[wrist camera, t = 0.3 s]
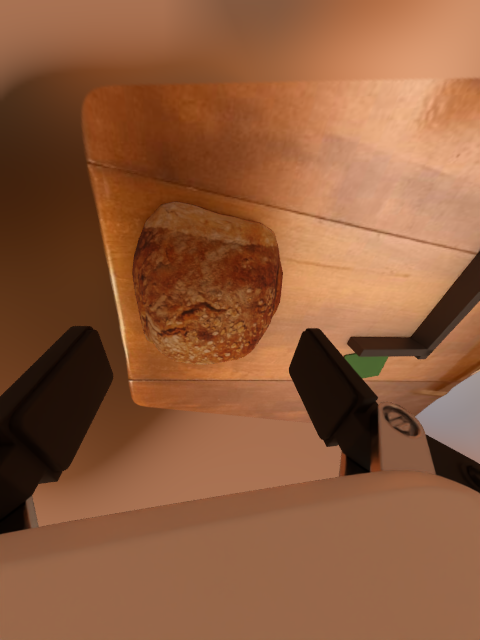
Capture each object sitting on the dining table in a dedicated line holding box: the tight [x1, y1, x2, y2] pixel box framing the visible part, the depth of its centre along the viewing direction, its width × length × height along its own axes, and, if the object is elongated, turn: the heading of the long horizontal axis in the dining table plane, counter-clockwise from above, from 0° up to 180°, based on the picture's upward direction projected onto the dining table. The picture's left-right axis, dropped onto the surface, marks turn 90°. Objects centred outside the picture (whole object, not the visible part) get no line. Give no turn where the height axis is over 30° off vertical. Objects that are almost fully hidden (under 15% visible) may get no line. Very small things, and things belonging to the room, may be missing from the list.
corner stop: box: [347, 252, 480, 359], centre depth 35 cm, size 26×18×4 cm
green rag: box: [344, 353, 389, 378], centre depth 46 cm, size 10×12×1 cm
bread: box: [133, 202, 283, 364], centre depth 24 cm, size 20×18×10 cm
